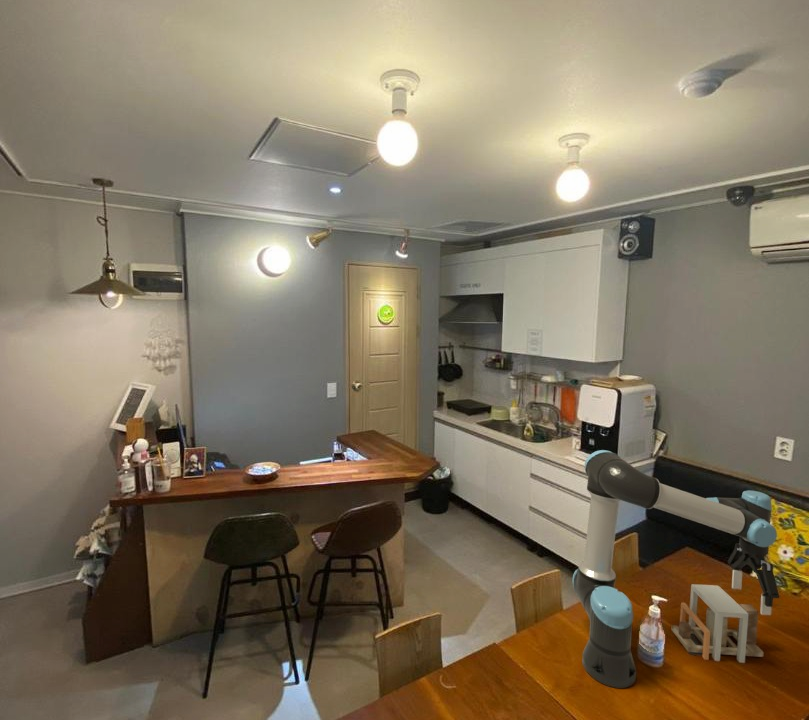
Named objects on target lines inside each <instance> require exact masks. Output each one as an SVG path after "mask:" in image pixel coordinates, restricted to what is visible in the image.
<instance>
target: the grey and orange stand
mask: <svg viewBox="0 0 809 720" xmlns="http://www.w3.org/2000/svg"><path fill="white" fill-rule="evenodd" d="M698 598H700V599H701V600H702V601H703V602H704V604H706V606H707V607H709V609H711V610H712V611H713V612H714V613H715V623H714V637H713V651H712V653H711V658H712V659H713V661H715V662H720V661H721V654H720V653H721V639H722V625H723V617H726V618H738V620H739V618H740V620H739V633H738V641H737V645H736V646H737V655H736V660H737V662H738V663H740V664H741V663H742V664H745V663H746V656H745V653H746V640H747V626H748V613H747V612H746V611H745V610H744V609H743V608H742V607H741V606H740V603H738V602H736V601H735V599H733V598H732V597H731V596H730V595H729V594H728V593H727V592H726V591H725V590H724V589H722V587H720V586H719V585H715V584H698V583H697V584H696V583H695V584H692V583H691V586H690V599H689V600H690V601H689V606H688V605H687V603H686V602H681V603H680V615H679V616H680V617H679V622H680V621H682V622H687V621H686V620H687V615H688V624H689V625H690V626H691V627H700V628H701V630H702V631H703V632H704V634H703V636H704V639H703V644H702V646H703V654H702V655H701V656H702V657H701V658H703V661H705V660H706V661H709V657H710V656H709V655H710V653H709V645H710V631H709V630H708V628H707V627H706V624H704V622H702V621H701V618H699V617H698V615H697V610H698ZM696 625H697V626H696Z"/></svg>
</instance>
